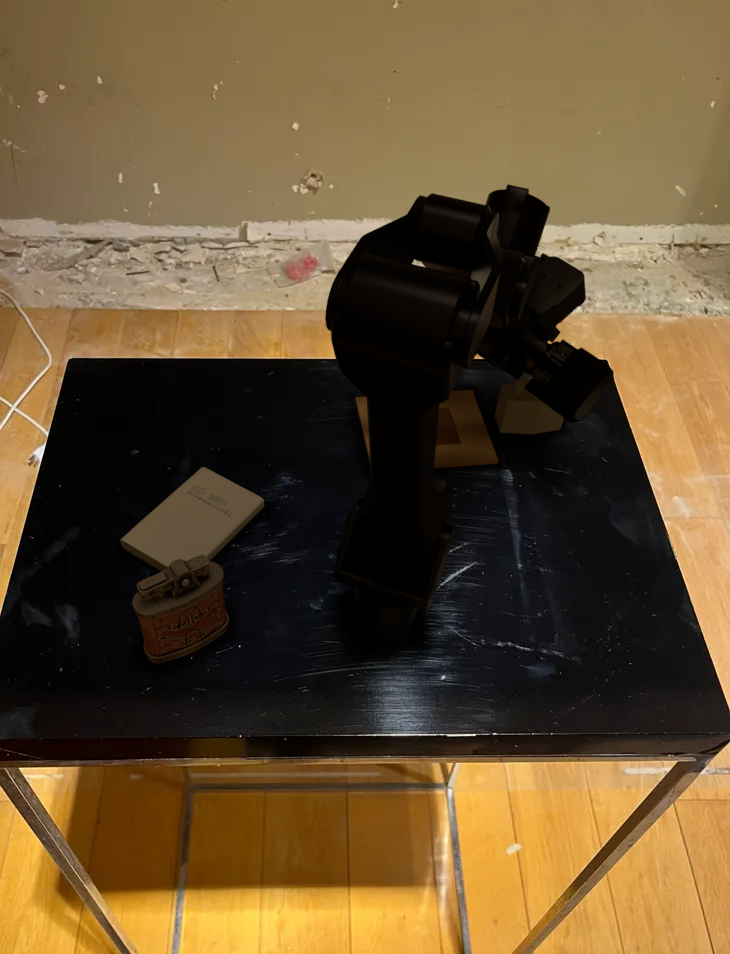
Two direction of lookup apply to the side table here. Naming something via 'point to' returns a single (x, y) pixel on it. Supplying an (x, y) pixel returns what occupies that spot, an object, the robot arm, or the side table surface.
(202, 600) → the lighter
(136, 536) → the hard drive
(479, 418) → the board
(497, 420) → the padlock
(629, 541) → the side table surface
